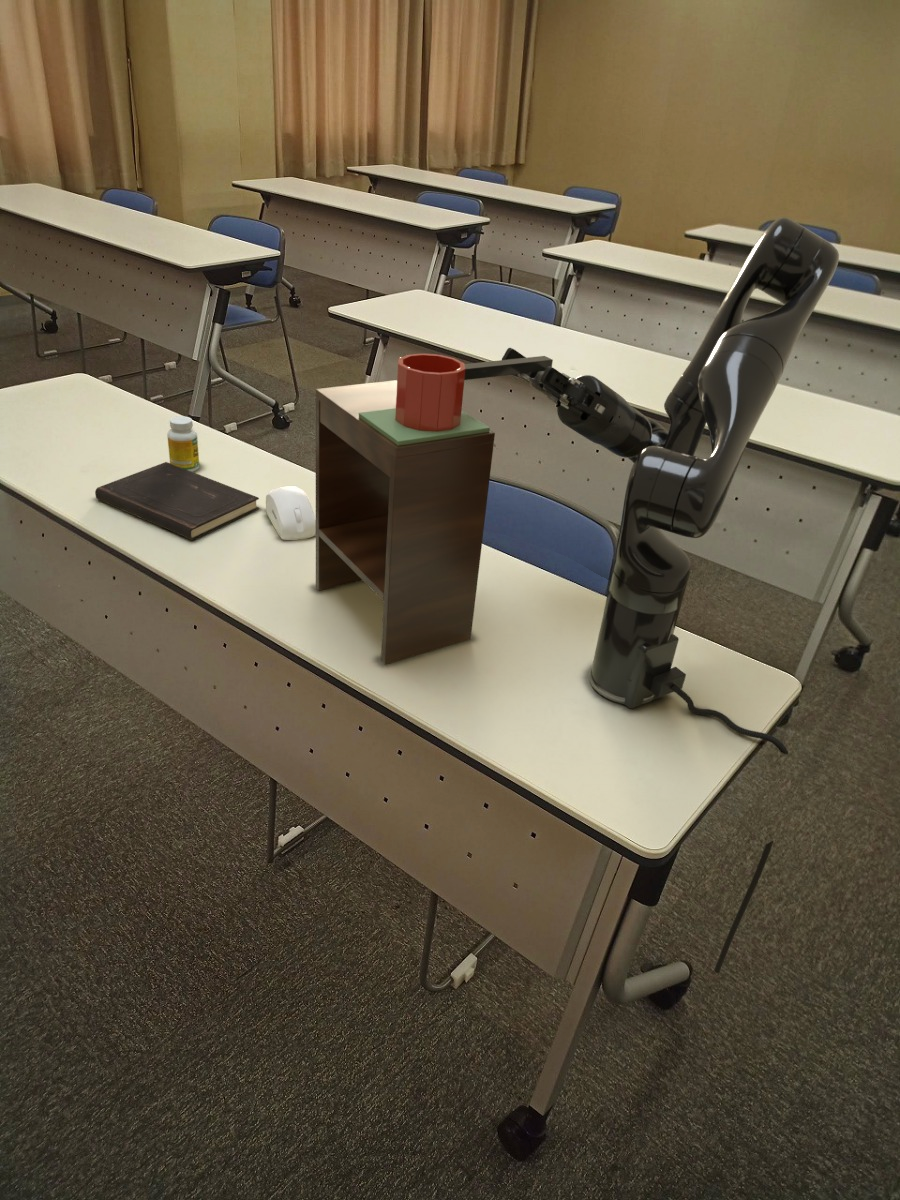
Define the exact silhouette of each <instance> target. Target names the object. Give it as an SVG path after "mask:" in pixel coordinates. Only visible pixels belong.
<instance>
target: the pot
mask: <svg viewBox="0 0 900 1200" xmlns="http://www.w3.org/2000/svg"><path fill="white" fill-rule="evenodd" d="M553 361H554V360H553V358H550V357H548V356H545V355H539V356H530V357H526V358H519V359H509V360H502V359H500V360H492V361H491V360H490V361H481V362H471V363H465V362H463V361H461V360H459V359H458V358H455V357H451V356H447V355H443V354H437V353H436V354H435V353H422V352H421V353H412V354H406V355H404V356H401V357H399V358H398V360H397V376H396V380H397V394H396V413H395V420H396V421H397V422H399V423H400V424H401V425H403V426H405V427H408V428H412V429H416V430H420V431H435V432H438V431H445V430H452V429H454V428H455V427H457V426H459V425H460V421H461V411H463V399H464V388H465V381H469V380H477V379H486V378H488V379H489V378H495V377H496V378H497V377H503V376H504V377H505V376H514V375H515V374H522V373H531V372H540V371H545V370H546V368H547V367H549V366H550V367H552V368H553Z"/></svg>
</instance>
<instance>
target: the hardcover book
mask: <svg viewBox="0 0 900 1200" xmlns="http://www.w3.org/2000/svg"><path fill="white" fill-rule="evenodd" d="M94 493H95V495H94V496H95V498H96V499H97V500H98V501H101V502H103V503H105V504H108V505H110V506H112V507H114V508H117V509H119V510H121V511H123V512H126V513H129V514H131V515H134V516H135V517H138V518H141V519H143V520H144V521H147V522H149V523H152V524H154V525H156V526H159V527H161V528H163V529H166V530H168V531H169V532H170V531H171V532H173V533H175V534H176V535H180V536H182V537H184V538H186V539H189V540H191V541H196V540H198V539H199V538H201V537H205V536H206V535H208V534H210V533H212V532H214V531H216V530H218V529H220V528H223V527H225V526H227V525H229V524H231V523H233V522H235V521H238V520H239V519H241V518H244V517H245V516H248V515H249V514H252V513H254V512H256V511H258V510H260V507H259V506H257V501H258V500H260V498H259V497H258V496H256V495H254V494H250V493H248V492H245V491H242V490H240V489H237V488H235V487H232V486H229V485H227V484H224V483H221V482H220V481H217V480H214V479H212V478H209V477H207V476H204V475H201V474H199V473H196V472H195V471H193V472H191V471H188V470H186V469H183V468H181V467H178V466H175V465H173V464H170V462H168V461H165V462H163V463H159V464H157V465H154V466H151V467H149V468H146V469H143V470H140V471H138V472H135V473H132V474H130V475H127V476H125V477H122V478H119V479H117V480H116V479H115V480H114V481H110V482H109V483H106V484H103V485H100V486H98V487H96V489H95V490H94Z"/></svg>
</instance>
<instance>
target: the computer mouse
mask: <svg viewBox="0 0 900 1200" xmlns="http://www.w3.org/2000/svg"><path fill="white" fill-rule="evenodd" d="M265 512H266V515H267V517H268V519H269V521H270V522H271V524H272V526H273V527H274V529H275V531H276V533H277V535H278V536H279V537H280V539H281V540H283V541H298V540H305V539H310V538H313V537H316V515H315V512H314V509H313V506H312V503H311V501H310V498H309V496H308V495H307V493H306V492H305V491H304V490H303V489H301V488H299V487H297V486H292V485H291V486H290V485H289V486H288V485H287V486H281V487H276V488H273V489H272V490H270V491H269V492H268V493H266V495H265Z"/></svg>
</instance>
